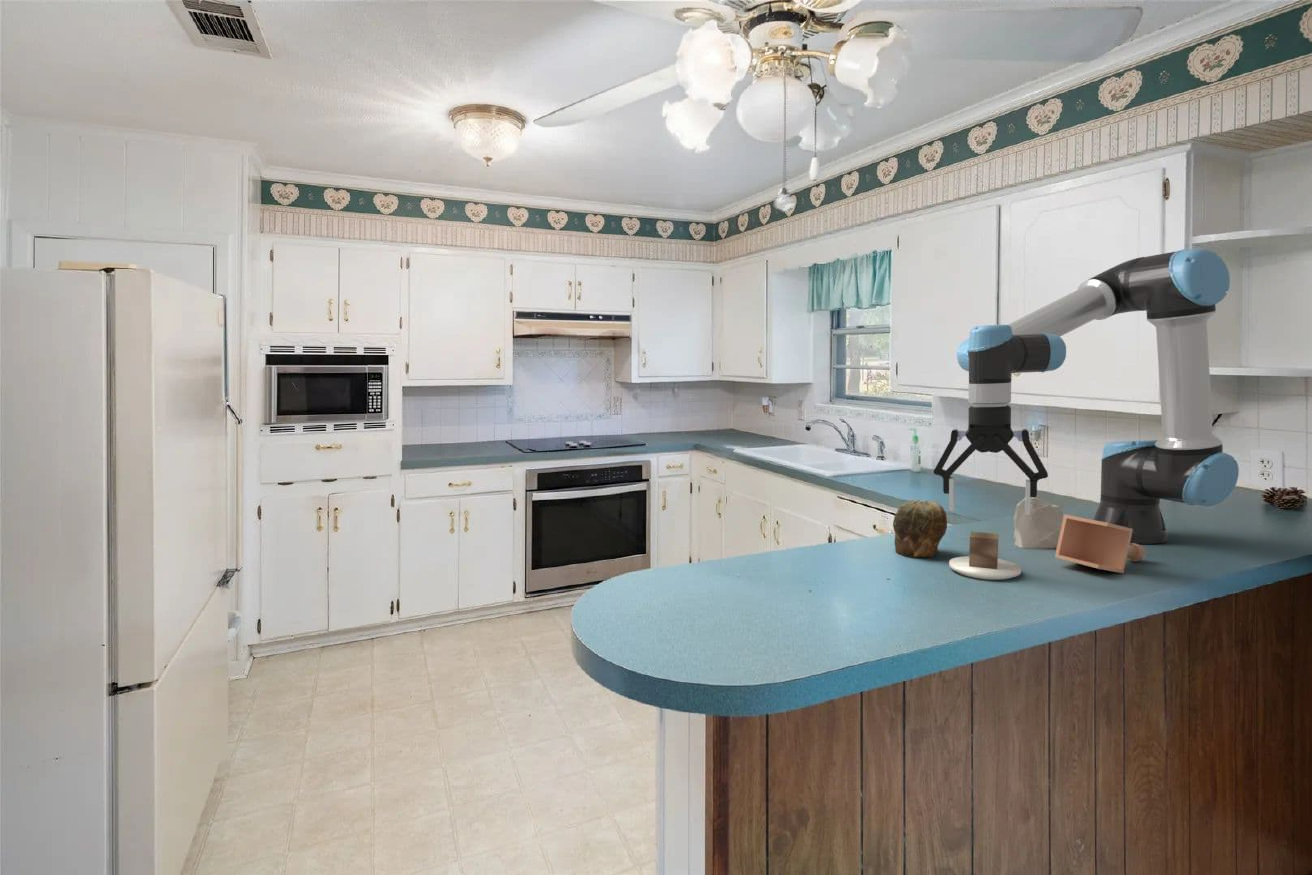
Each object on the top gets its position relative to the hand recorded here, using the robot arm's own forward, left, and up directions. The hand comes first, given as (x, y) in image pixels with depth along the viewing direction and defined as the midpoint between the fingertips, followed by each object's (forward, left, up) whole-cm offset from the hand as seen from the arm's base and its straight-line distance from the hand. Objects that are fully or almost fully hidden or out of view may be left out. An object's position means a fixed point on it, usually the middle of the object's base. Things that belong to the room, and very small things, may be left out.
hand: (988, 511), depth 138 cm
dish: (+1, 0, -12) cm, 12 cm away
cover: (-18, +2, -6) cm, 19 cm away
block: (+1, 0, -11) cm, 11 cm away
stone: (-21, -18, -12) cm, 31 cm away
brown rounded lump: (+8, -14, -12) cm, 20 cm away
